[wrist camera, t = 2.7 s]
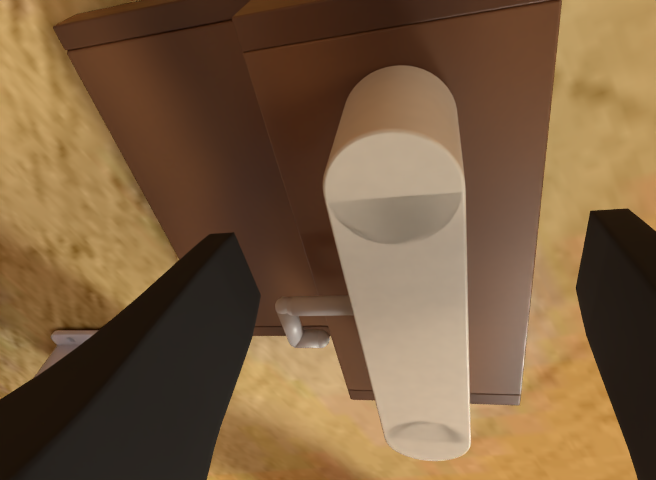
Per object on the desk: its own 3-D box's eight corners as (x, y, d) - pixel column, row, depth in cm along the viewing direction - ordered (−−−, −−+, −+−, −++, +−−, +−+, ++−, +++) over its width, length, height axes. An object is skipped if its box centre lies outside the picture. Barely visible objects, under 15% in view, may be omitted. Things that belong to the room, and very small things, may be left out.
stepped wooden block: (229, 315, 26) (196, 394, 22) (76, 13, 16) (-28, 66, 12) (504, 311, 22) (520, 406, 19) (525, -81, 12) (567, -47, 9)
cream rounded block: (325, 379, 20) (311, 453, 17) (222, 89, 12) (171, 154, 9) (465, 382, 18) (471, 464, 16) (455, 55, 10) (464, 121, 8)
